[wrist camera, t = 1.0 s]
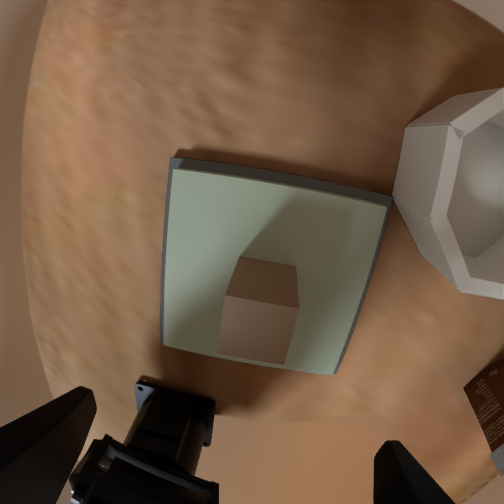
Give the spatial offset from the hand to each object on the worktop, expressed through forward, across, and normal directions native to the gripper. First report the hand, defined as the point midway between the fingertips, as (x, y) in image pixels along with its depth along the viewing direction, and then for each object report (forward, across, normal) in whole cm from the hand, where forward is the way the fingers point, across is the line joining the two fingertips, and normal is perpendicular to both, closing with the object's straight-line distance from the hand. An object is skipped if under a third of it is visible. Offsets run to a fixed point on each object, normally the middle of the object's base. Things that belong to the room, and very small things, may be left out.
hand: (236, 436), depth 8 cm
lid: (+11, 0, 0) cm, 11 cm away
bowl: (+11, -11, -8) cm, 18 cm away
